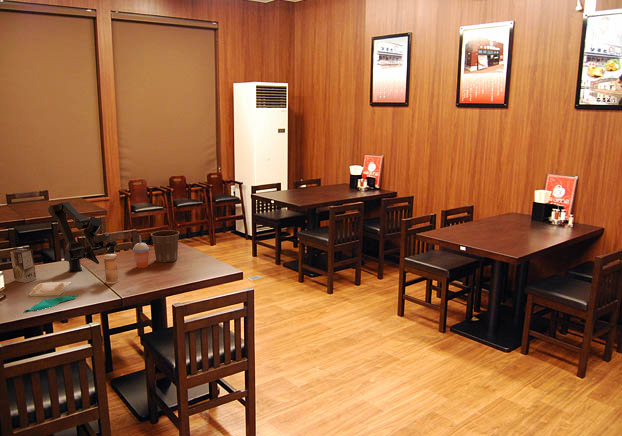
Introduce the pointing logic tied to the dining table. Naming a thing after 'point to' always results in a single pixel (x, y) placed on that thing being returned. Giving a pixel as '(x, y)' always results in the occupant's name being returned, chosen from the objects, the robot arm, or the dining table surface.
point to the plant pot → (165, 245)
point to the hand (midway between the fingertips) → (106, 261)
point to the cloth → (51, 302)
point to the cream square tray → (50, 288)
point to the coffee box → (23, 265)
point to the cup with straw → (141, 254)
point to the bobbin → (111, 268)
